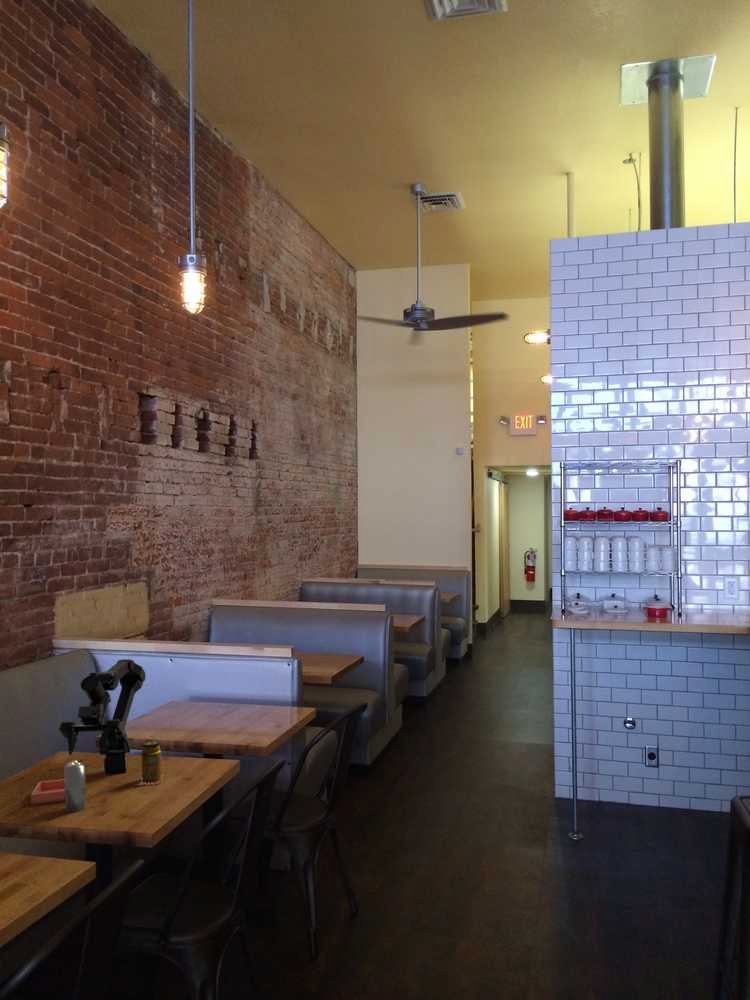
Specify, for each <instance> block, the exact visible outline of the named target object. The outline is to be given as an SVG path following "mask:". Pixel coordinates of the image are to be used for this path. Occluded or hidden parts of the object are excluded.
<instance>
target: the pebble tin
mask: <svg viewBox="0 0 750 1000" xmlns="http://www.w3.org/2000/svg"><path fill="white" fill-rule="evenodd" d="M63 769H64V773H63V774H64V779H65V800H66V801H65V811H66V812H68V813H78V812H81V811H83V810H85V809H86V808H87V791H86V764H85V763H84V762H82V761H81V762H79V761H78V760H77V759H74V760H71V761H68V762H67V764H66V765H64V766H63Z"/></svg>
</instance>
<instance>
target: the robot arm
mask: <svg viewBox="0 0 750 1000" xmlns="http://www.w3.org/2000/svg"><path fill="white" fill-rule="evenodd" d="M145 671H146V670H144V668H143V667H142V666H141V665H139V664H137V663H135V662H134V660H133V659H131V658H130V659H119V660H117V662H116V663H115V664H114V665H113V666H111V667H110V668H109V669H108V670H106V671H99V672H90V673H89V675H88V676H86V677H84V678H83V679H82V681H81V682H80V688H81V690H82V692H83V693H84V695H85V697H86V698H87V699H88V700H90V701H89V704H88V706H79V707H78V713H77V718H80V722H81V723H82V724H80V725H79V724H78V725H77V724H76V722H75V720H71V721H70V720H68V721H65V720H64V721H61V723H60V724H59V727H58V731H60V733H61V735H62V736H63V738H66V740H67V744H68V746H67V747H68V754H69V756H72V754H73V752H74V750H75V747H76V744H77V741H78V735H79V733H85V732H90V733H91V732H101V734H100V736H99V739H98V746H99V750H98V751H99V752H98V753H99V755H101V756H102V755H105V757H104V759H103V766H104V767H103V768H104V769H103V770H104V771H103V772H104V773H105V774H106V775H107V774H108V775H114V774H115V773H117V774H125V773H126V772H127V770H128V767H127V766H128V764H127V754H129V753H130V752H131V748H132V743H131V741H130V739H129V737H128V734H127V731H126V729H125V728H126V725H127V721H128V718H129V714H130V711H131V708H132V704H133V700H134V698H135V695H136V693H137V692H139V691H140V690H141V689H142V687H143V685H144V682H145V681H146V677H147V676H146V672H145ZM119 684H120V687H121V689H120V692H119V695H118V696H119V697H118V700H117V703H116V706H115V709H114V711H113V715H112V718H111V719H107V717H108V715H107V712H108V711H107V710H108V707H109V704H110V703H112V699H111V695H110V693H109V692H110V691H111V692H113V691H115V690H116V689H117V687H118V686H119ZM105 719H107V721H106V724H104V722H105ZM124 772H125V773H124ZM115 775H116V774H115Z"/></svg>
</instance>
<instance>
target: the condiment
mask: <svg viewBox="0 0 750 1000" xmlns="http://www.w3.org/2000/svg"><path fill="white" fill-rule="evenodd" d="M160 748H161V747H160V741H158V740H148V741H145V742H143V743H142V751H141V754H140V755H141V779H143V780H142V781H143V782H146V783H148V782H150V783H151V782H156V781H159V780H161V779H162V776H163V773H162V751H161V749H160ZM138 782H141V781H140V780H139V781H138ZM138 782H137V784H136V786H139V784H140V783H138Z"/></svg>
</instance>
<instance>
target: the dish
mask: <svg viewBox="0 0 750 1000" xmlns="http://www.w3.org/2000/svg"><path fill="white" fill-rule="evenodd" d="M30 798H31V800H30V803H31V805H32V806H33V804H34V805H41V804H42V805H43V804H51V803H58V802H59V803H60V802H66V800H65V778H62V779H53V780H45V781H44V780H43V781H39V782H38V783H37V784H36V786H35V787H34V789H33V791H32V793H31V795H30Z"/></svg>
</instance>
